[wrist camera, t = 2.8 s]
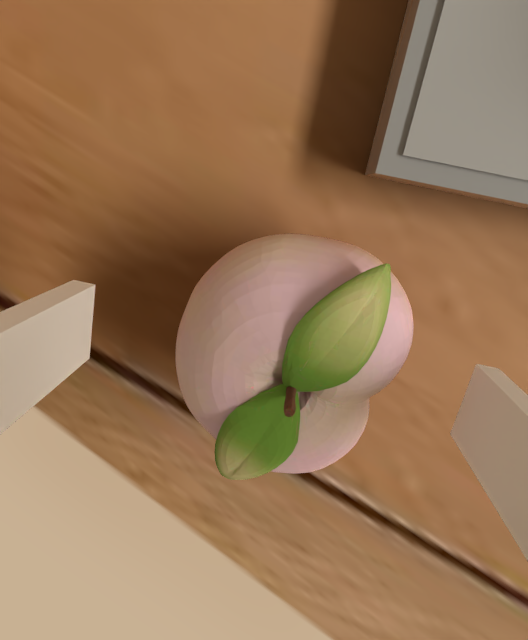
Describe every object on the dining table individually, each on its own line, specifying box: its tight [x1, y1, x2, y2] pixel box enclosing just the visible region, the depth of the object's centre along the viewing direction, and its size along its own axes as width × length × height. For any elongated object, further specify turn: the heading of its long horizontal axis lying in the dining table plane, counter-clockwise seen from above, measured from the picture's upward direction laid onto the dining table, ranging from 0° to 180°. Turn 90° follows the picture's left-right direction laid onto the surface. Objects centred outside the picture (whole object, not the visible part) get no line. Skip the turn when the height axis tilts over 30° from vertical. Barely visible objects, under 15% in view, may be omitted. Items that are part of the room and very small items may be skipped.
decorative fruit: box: [175, 234, 413, 480], centre depth 17 cm, size 9×8×10 cm
